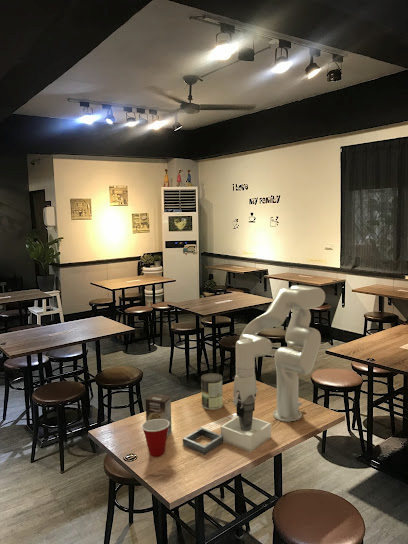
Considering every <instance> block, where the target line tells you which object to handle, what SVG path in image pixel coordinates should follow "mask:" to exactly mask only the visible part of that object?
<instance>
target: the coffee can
mask: <svg viewBox="0 0 408 544" xmlns="http://www.w3.org/2000/svg"><path fill="white" fill-rule="evenodd" d="M223 380H224V379H223V376H222V374H220V373H214V372H213V373H212V372H210V373H209V372H208V373H205V374H202V375H201V376H200V382H201V383H200V386H201V407H202V408H203V409H206V410H211V411H212V410H218V409H221V408H222V407H223V406H224V403H223V401H224V400H223Z"/></svg>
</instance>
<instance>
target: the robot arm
mask: <svg viewBox="0 0 408 544" xmlns="http://www.w3.org/2000/svg"><path fill="white" fill-rule="evenodd" d="M325 300H326V293H325V291H324V290H323V289H322V288H321V287H315V286H309V285H308V286H307V285H300V284H296V285H292V286H290V287H284V288H281V289H279V291H278V292H277V294H276V295H275V297H274V299H273V300H272V302H271V303H270V304H269V306H268V308H267V310H266V311H265V312H264V313H263V314H261V315H259V316H257V317H256V318H254V319H253V320H251V321H250V322H249V323H248V324H247V325H246V326H245V328H244V329H243V331H242V333H241V334H240V336H239V339H238V340H237V341H236V342H235V376H234V380H233V392H232V393H233V395H232V397H233V399H232V403H233V404H234V406H235V408H236V417H237V416H239V417H242V418H243V417H244V408H243V404H244V401H245V400H247V398H248V397H249V396H250V395H253V397H254V401H256V397H257V392H258V391H259V389H258V387H257V379H256V378H257V377H256V372H255V371H256V369H255V368H256V361H255V360H256V358H257V357H258V358H259V357H265V356H268V355H269V354H270V353H271V352H272V350H273V342H272V341H271V340H270V339H269V338H267V337H264V336H261V335H258V334H259V333H260V332H262V331H264V330H266V329H272V328H275V327H279V326H282V325H284V322H285V321H286V319H287V317H288V315H289V314H290V313H291V312H292V313H291V314H292V315H291V317H290V320H289V323H288V326H287V328H286V332H285V336H284V339H285V343H286V344H288V345H291V346H292V347H293V346H294V347H295V348H292V347H288V346H281V347H279V348H277V349H276V350H275V353H274V356H273V357H274V359H273V360H274V364H275V366H274V367H275V369H276V409H274V411H273V414H272V415H273V417H274V418H275V419H276V420H278V421H281V422H284V421H285V423H292V422H291V421H295V422H297V421H296V420H298V421H300V420H301V419H302V418H301V417H303V414H302V412H301V411H300V410H299V408H300V407H301V406H302V404H303V403H302V402H301V401H300V400H299V376H298V374H301V375H308V374H309V373H310V372H311V371H312V370H313V368H314V366H315V362H316V359H317V356H318V353H319V349H320V346H321V343H322V342H321V341H322V337H321V333H320V331H319V330H318V329H316V328H314V327H310V323H311V318H312V315H311V311H310V310H311V309H315V308H316V309H317V308H319V307H321V306H322V305H323V304H324V303H325ZM291 310H292V311H291ZM297 348H300V349H297ZM301 348H302V350H301ZM239 398H241V400H240V399H239ZM239 401H241V404H240V403H239ZM255 403H256V402H255ZM255 403H254V407H253V412H254V411H255V410H256V409H255V407H256V406H255ZM300 418H301V419H300ZM299 419H300V420H299Z"/></svg>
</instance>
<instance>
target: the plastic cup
mask: <svg viewBox="0 0 408 544" xmlns="http://www.w3.org/2000/svg"><path fill="white" fill-rule="evenodd" d="M169 424H170V423H169V421H168V420H165V419H153V420H149V421H147V422H146V421H145V422H143V423H142V424H141V429H142V431H143V433H144V438H145V440H146V446H147V447H148V453H149V455H150V456H151V457H154V458H158V457H162V456H163V455H164V454H165V452H166V446H167V439H168V437H167V432H168V427H169Z"/></svg>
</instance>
